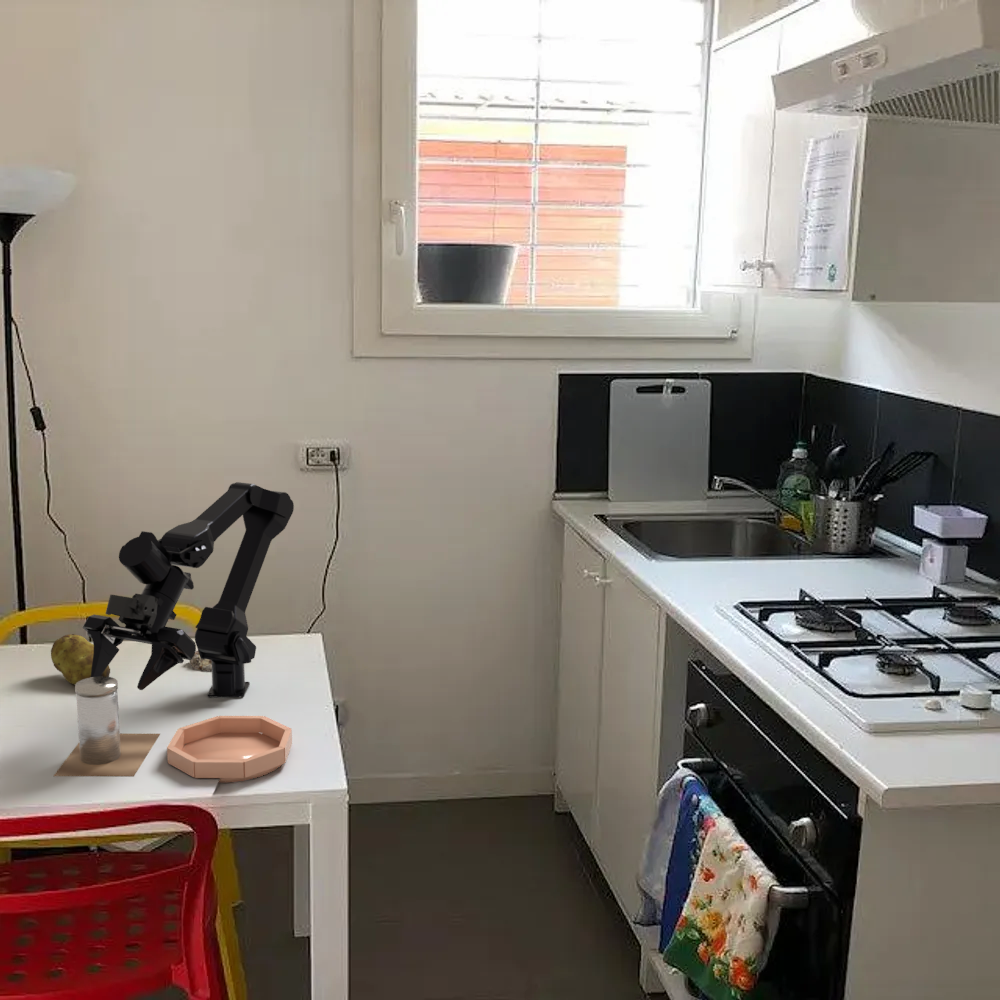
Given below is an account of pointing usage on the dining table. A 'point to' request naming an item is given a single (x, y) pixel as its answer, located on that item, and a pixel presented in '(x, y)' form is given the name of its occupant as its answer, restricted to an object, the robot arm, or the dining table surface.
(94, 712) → the polished metal canister
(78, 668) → the potato
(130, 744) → the walnut board
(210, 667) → the mineral rock
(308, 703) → the dining table surface
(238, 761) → the terracotta bowl
